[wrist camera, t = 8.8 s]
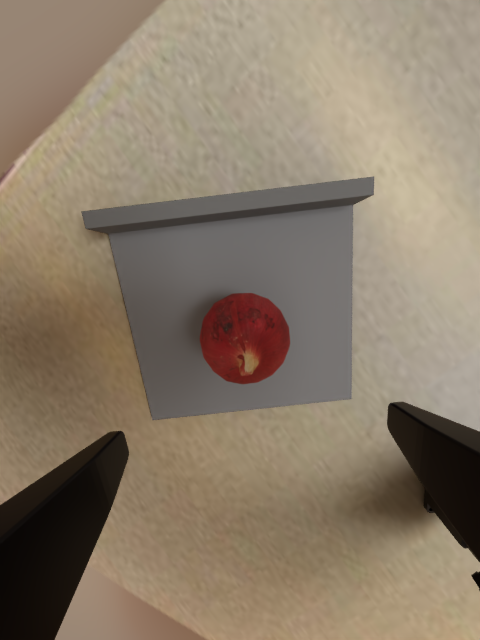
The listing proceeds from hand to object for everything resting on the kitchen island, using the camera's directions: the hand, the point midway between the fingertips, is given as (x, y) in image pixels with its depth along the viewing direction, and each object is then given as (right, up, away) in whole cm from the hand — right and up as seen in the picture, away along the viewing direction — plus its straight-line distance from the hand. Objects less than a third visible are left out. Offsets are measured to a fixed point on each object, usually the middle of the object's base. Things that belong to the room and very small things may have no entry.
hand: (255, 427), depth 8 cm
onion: (0, +3, +11) cm, 12 cm away
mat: (0, +3, +11) cm, 12 cm away
